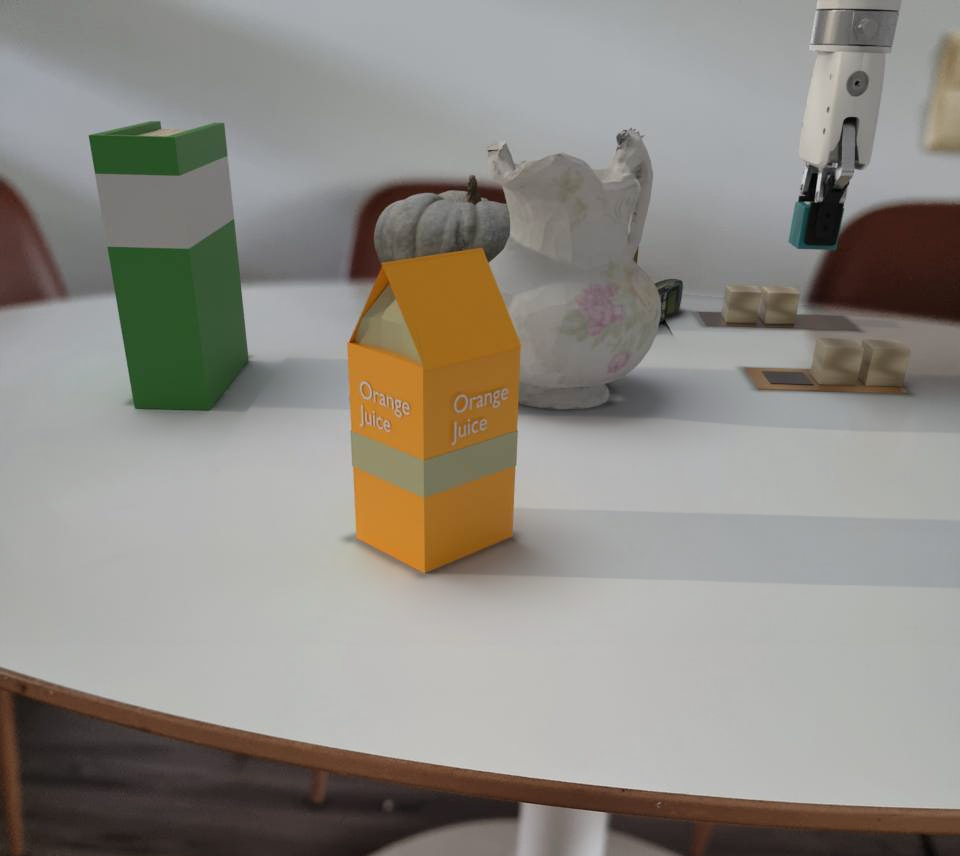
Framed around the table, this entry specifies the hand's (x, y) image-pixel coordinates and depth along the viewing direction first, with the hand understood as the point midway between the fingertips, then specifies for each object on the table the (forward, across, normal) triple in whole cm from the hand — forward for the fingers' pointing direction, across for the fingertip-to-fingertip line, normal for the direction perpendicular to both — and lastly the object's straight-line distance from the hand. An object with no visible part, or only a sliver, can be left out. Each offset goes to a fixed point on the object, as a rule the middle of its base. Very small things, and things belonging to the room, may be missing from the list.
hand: (813, 239), depth 102 cm
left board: (+15, +25, -4) cm, 30 cm away
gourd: (+15, +31, +38) cm, 51 cm away
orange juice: (+15, -45, +36) cm, 60 cm away
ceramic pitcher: (+15, -8, +25) cm, 31 cm away
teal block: (+1, 0, 0) cm, 1 cm away
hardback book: (+15, -8, +64) cm, 67 cm away
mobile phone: (+15, +25, +12) cm, 32 cm away
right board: (+15, -2, -4) cm, 15 cm away
